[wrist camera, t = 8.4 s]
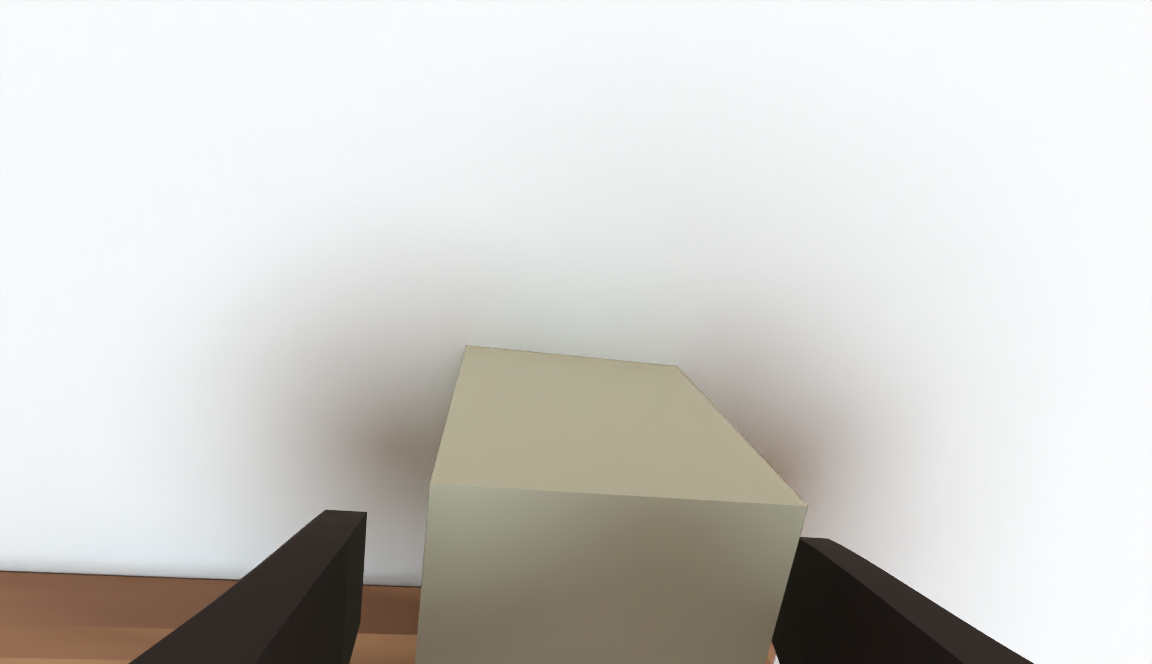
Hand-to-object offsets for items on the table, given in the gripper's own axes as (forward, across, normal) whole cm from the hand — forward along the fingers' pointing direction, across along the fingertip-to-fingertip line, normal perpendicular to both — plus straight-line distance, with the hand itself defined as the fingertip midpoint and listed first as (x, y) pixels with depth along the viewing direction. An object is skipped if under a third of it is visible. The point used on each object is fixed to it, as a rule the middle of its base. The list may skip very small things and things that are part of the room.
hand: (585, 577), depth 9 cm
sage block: (+5, 0, 0) cm, 5 cm away
